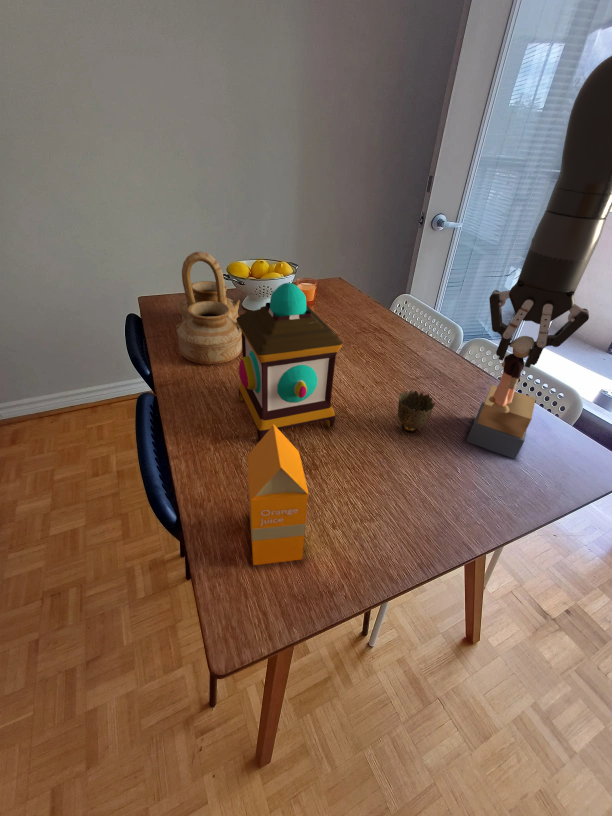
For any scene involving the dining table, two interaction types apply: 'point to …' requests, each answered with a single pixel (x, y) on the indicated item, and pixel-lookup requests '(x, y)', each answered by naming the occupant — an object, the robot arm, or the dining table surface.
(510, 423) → the top block
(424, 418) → the cup
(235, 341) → the ceramic vessel
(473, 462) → the dining table surface
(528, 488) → the dining table surface
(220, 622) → the dining table surface
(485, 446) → the base block
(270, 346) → the decorative lantern
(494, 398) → the grandmother figurine
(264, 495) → the orange juice
